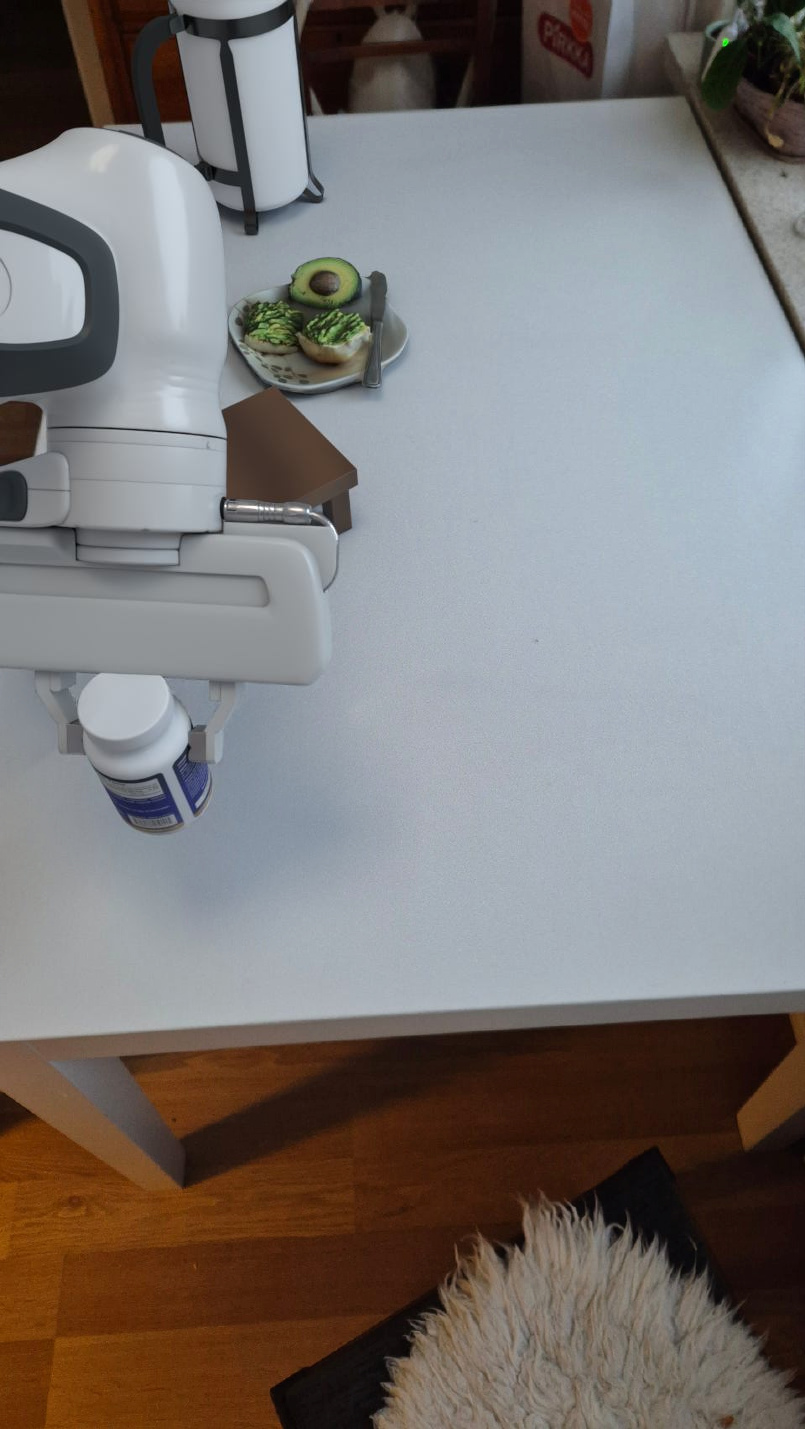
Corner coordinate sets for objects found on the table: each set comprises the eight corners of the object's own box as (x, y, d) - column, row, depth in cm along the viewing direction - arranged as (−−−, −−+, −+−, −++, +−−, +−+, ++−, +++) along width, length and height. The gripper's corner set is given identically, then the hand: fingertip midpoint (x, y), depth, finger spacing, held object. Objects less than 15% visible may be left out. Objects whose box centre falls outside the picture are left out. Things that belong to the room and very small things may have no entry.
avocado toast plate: (451, 377, 99) (452, 337, 95) (281, 432, 95) (275, 392, 91) (371, 272, 108) (369, 231, 105) (214, 318, 105) (206, 278, 101)
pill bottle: (175, 736, 61) (136, 636, 53) (234, 795, 59) (203, 699, 51) (97, 795, 59) (43, 699, 51) (155, 858, 57) (109, 769, 49)
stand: (233, 597, 84) (218, 539, 78) (159, 507, 90) (141, 446, 84) (362, 529, 88) (357, 469, 82) (283, 446, 94) (274, 385, 88)
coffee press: (204, 161, 122) (146, -155, 96) (335, 168, 120) (310, -151, 95) (166, 244, 112) (90, -81, 87) (307, 253, 111) (271, -76, 86)
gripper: (348, 504, 54) (340, 754, 57) (-22, 486, 55) (-13, 732, 58) (331, 503, 48) (323, 785, 51) (-86, 484, 49) (-71, 759, 52)
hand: (140, 757), depth 54 cm, fingers closed on pill bottle, 6 cm apart
